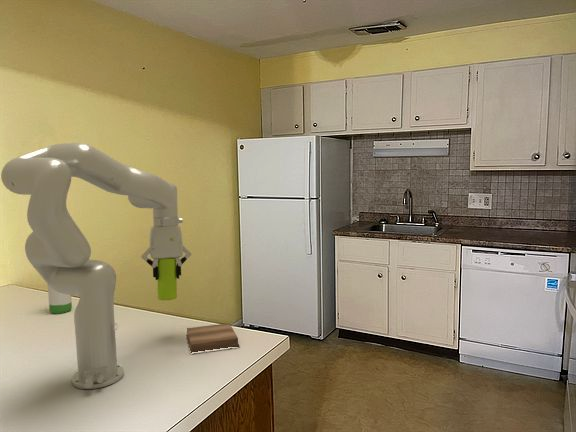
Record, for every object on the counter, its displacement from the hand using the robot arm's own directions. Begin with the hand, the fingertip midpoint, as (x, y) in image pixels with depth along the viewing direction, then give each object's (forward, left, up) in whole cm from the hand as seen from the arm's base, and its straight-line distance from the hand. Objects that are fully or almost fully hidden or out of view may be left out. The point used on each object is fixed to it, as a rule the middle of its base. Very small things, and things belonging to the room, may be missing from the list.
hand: (167, 277), depth 143 cm
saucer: (+15, +22, -20) cm, 33 cm away
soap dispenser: (0, 0, -7) cm, 7 cm away
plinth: (-9, -12, -20) cm, 25 cm away
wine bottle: (+42, +39, -20) cm, 61 cm away
